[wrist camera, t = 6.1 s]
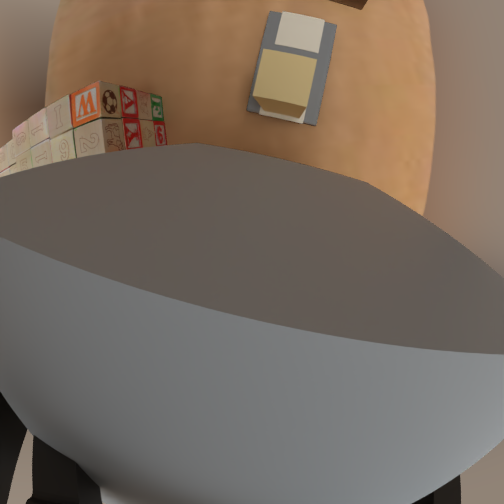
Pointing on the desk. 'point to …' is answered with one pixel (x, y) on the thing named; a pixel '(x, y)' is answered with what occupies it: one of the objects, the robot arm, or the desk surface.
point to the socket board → (352, 3)
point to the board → (292, 67)
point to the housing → (243, 330)
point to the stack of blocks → (86, 127)
